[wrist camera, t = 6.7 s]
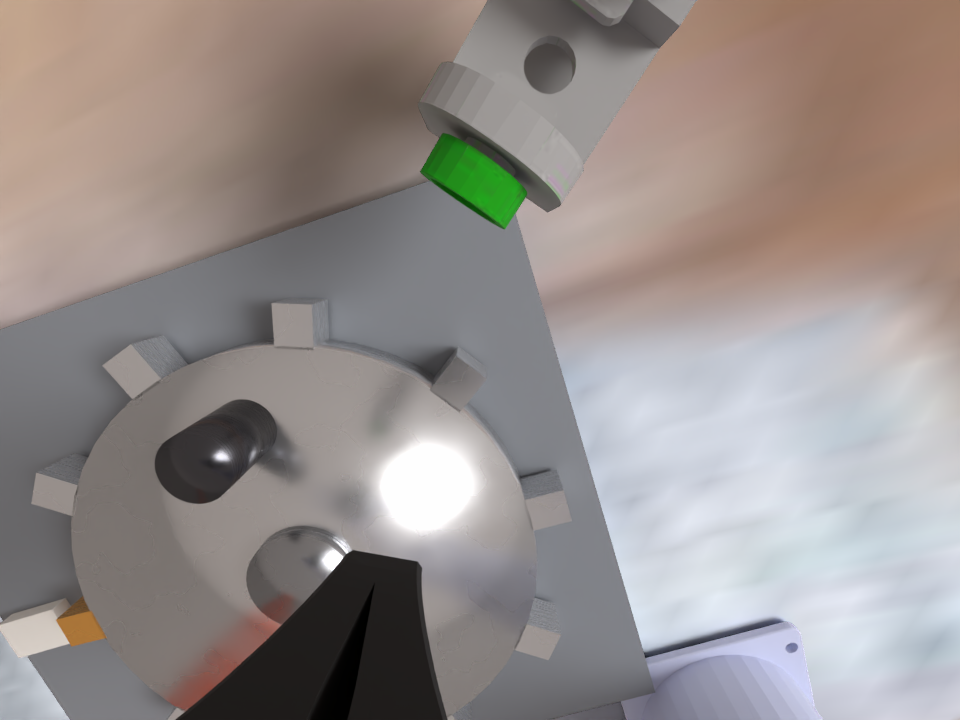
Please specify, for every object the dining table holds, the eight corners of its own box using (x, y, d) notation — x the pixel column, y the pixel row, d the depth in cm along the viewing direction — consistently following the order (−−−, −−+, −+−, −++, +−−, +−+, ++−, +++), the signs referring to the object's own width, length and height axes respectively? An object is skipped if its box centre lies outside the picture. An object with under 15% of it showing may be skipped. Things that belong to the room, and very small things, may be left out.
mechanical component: (435, 202, 16) (366, 129, 6) (615, -102, 14) (937, -927, 4) (507, 250, 16) (550, 254, 6) (693, -38, 14) (1157, -657, 4)
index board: (646, 671, 20) (660, 706, 19) (155, 799, 22) (131, 840, 21) (497, 162, 16) (499, 153, 14) (-121, 375, 17) (-180, 389, 16)
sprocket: (611, 676, 19) (649, 796, 15) (192, 772, 20) (117, 909, 16) (494, 238, 15) (501, 234, 11) (-23, 389, 16) (-199, 439, 12)
